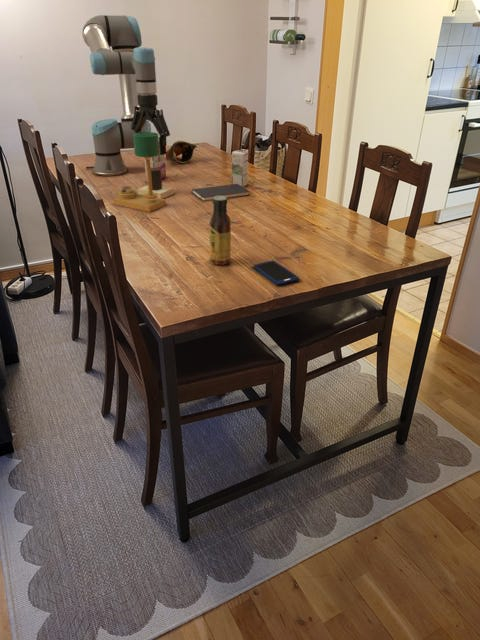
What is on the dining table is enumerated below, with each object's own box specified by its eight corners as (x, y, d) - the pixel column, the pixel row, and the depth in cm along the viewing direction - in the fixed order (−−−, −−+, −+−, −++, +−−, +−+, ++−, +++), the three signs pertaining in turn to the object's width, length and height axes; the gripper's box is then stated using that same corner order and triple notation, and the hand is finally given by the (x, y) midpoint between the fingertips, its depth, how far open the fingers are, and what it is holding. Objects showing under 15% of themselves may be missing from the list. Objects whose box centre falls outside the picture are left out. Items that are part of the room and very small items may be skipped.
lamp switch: (120, 193, 190) (119, 188, 189) (126, 191, 193) (126, 185, 192) (127, 195, 189) (127, 189, 188) (134, 192, 192) (133, 187, 191)
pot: (179, 138, 259) (194, 132, 244) (189, 157, 264) (204, 153, 249) (154, 152, 253) (167, 147, 238) (164, 172, 258) (178, 168, 243)
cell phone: (278, 286, 131) (278, 283, 131) (252, 267, 142) (252, 264, 141) (300, 280, 134) (300, 278, 134) (273, 262, 145) (273, 259, 144)
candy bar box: (156, 176, 227) (154, 139, 218) (166, 177, 225) (163, 140, 217) (145, 182, 218) (142, 144, 209) (155, 183, 216) (152, 145, 208)
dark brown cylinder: (156, 191, 198) (154, 170, 193) (145, 189, 200) (144, 168, 196) (164, 187, 202) (163, 167, 197) (154, 185, 204) (152, 165, 200)
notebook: (237, 187, 213) (192, 192, 205) (237, 183, 212) (192, 189, 204) (250, 195, 203) (203, 201, 195) (250, 191, 202) (203, 197, 194)
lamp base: (113, 203, 191) (111, 194, 189) (129, 197, 198) (128, 187, 196) (149, 211, 183) (148, 201, 181) (165, 204, 190) (165, 194, 188)
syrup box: (248, 184, 217) (248, 150, 209) (242, 187, 212) (243, 153, 205) (236, 182, 219) (237, 149, 211) (231, 185, 214) (231, 152, 207)
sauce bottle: (209, 257, 147) (208, 193, 137) (229, 257, 148) (230, 193, 137) (210, 266, 142) (208, 200, 131) (231, 266, 142) (231, 200, 132)
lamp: (134, 198, 184) (127, 135, 172) (149, 192, 191) (143, 131, 179) (152, 201, 181) (147, 137, 169) (167, 195, 187) (163, 133, 175)
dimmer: (137, 195, 201) (136, 188, 200) (152, 189, 208) (151, 183, 207) (160, 199, 196) (159, 193, 195) (174, 193, 203) (174, 187, 202)
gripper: (177, 96, 179) (180, 155, 190) (133, 90, 192) (138, 145, 203) (162, 98, 174) (166, 158, 185) (118, 91, 187) (124, 148, 198)
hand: (151, 151), depth 194 cm, fingers open, 13 cm apart
